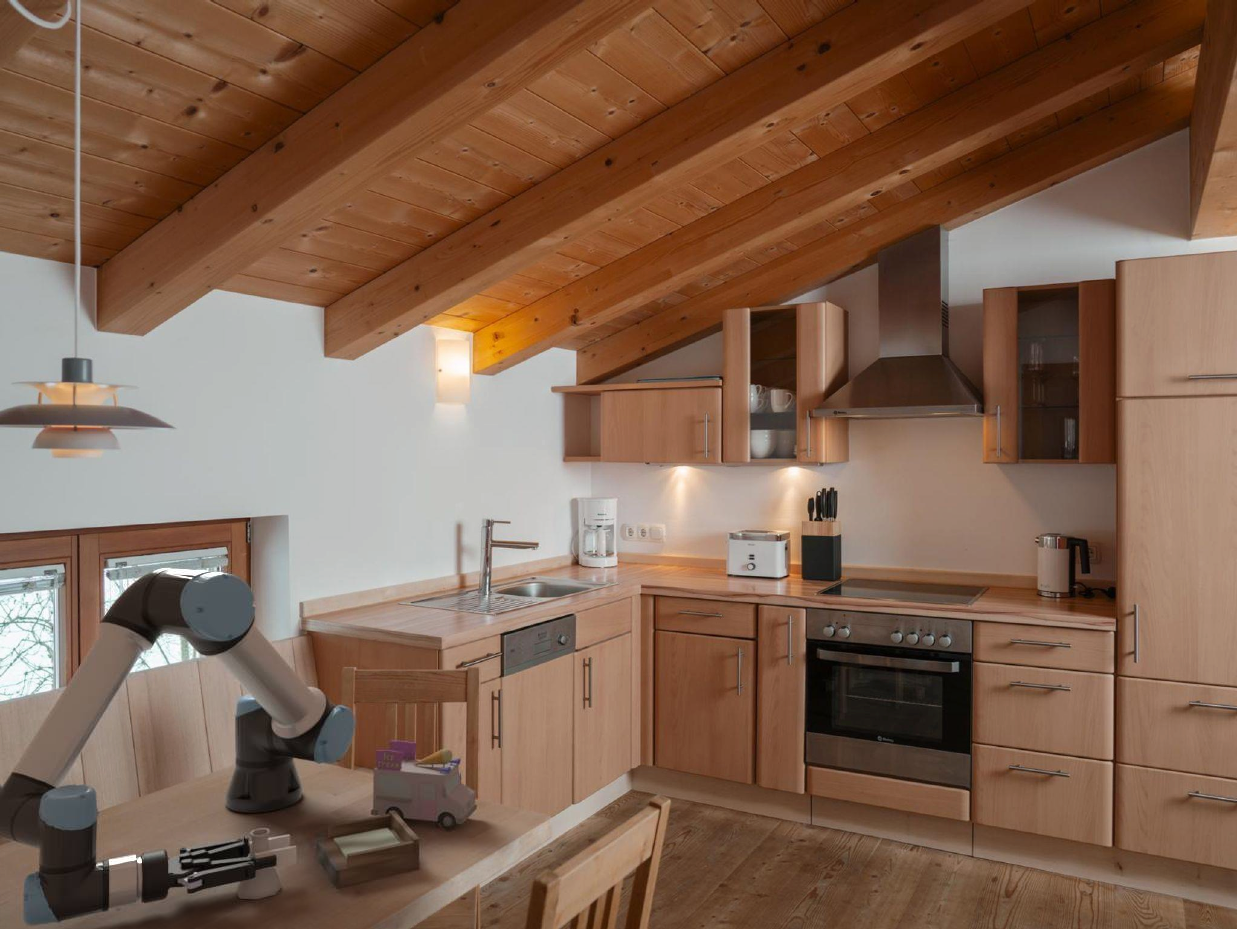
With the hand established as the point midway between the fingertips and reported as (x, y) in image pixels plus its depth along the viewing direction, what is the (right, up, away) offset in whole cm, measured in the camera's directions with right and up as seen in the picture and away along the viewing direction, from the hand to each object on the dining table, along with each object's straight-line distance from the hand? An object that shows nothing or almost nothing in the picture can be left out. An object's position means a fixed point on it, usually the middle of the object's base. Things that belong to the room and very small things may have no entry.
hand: (292, 848), depth 156 cm
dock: (+11, -6, +9) cm, 15 cm away
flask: (-5, -6, -3) cm, 8 cm away
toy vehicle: (+17, -6, +28) cm, 33 cm away
